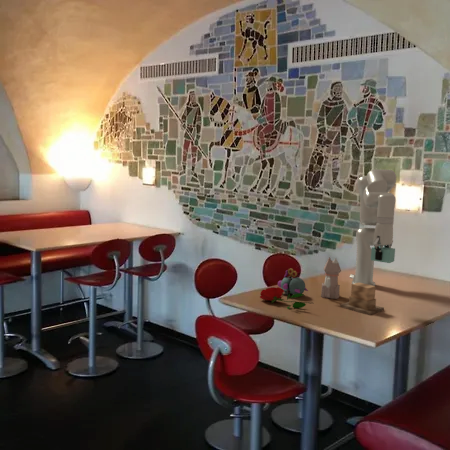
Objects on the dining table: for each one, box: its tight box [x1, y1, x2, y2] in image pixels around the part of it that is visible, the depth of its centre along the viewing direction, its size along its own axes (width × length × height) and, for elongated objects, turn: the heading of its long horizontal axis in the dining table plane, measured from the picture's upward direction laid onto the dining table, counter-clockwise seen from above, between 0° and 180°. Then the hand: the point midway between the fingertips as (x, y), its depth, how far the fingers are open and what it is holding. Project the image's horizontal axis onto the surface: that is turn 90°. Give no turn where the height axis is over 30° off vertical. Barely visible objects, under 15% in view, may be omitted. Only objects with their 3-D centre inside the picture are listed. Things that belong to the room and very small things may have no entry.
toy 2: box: [320, 257, 342, 300], centre depth 277 cm, size 9×18×20 cm, turn 161°
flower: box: [259, 286, 314, 310], centre depth 261 cm, size 9×9×30 cm
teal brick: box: [371, 246, 396, 264], centre depth 259 cm, size 9×6×6 cm, turn 52°
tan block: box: [350, 283, 376, 301], centre depth 260 cm, size 9×6×6 cm, turn 42°
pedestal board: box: [340, 295, 385, 316], centre depth 261 cm, size 16×12×5 cm
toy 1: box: [277, 268, 309, 295], centre depth 281 cm, size 11×14×15 cm
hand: (382, 258), depth 260 cm, fingers closed on teal brick, 6 cm apart
